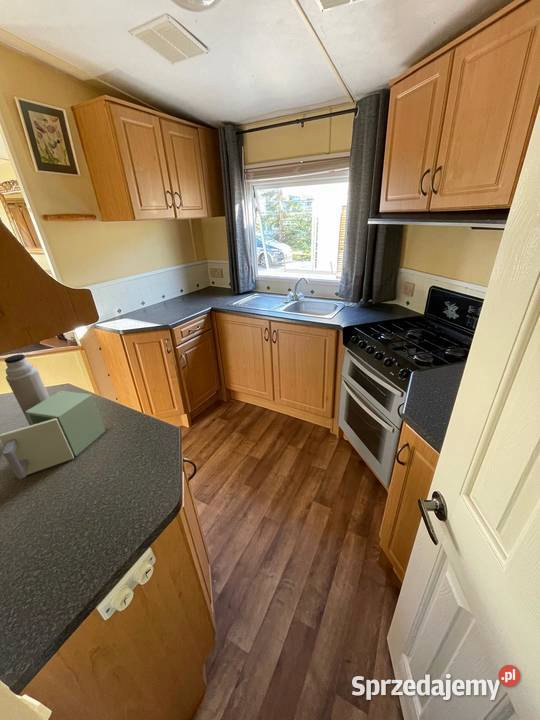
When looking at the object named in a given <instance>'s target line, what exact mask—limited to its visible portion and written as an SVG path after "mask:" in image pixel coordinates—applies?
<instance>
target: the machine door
mask: <svg viewBox="0 0 540 720" xmlns="http://www.w3.org/2000/svg"><path fill="white" fill-rule="evenodd" d="M0 442H1V444H2V445H3V447H4V449H3V450H2V451H3V452H2V454H3V456H4V457H5V459H6V461H7V463H8V464H9V466H10V468H11V469H12V471H13V473H14V475H15V476H16V478H17V479H18V480H23V479H25V478H26V476H28V475H30V474H33V473H36V472H39V471H42V470H45V469H48V468H50V467H54V466H56V465H59V464H62V463H65V462H68V461H71V460H74V459H75V456H74V455H73V453H72V451H71V449H70V447H69V445H68V442H67V440H66V438H65V436H64V433H63V431H62V429H61V427H60V425H59V422H58V420H57V418H55V419H52V420H48V421H45V422H41V423H38V424H34V425H31V426H30V425H27V426H24V427H20V428H17V429H14V430H11V431H8V432H4V433H1V434H0Z"/></svg>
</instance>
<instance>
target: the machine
mask: <svg viewBox="0 0 540 720" xmlns="http://www.w3.org/2000/svg"><path fill="white" fill-rule="evenodd" d="M25 413H26V415H27V417H28V419H29V421H30V423H31V425H34V424H38V423H41V422H45V421H48V420H52V419H55V418H57V420H58V422H59V425H60V427H61V429H62V431H63V433H64V436H65V438H66V440H67V442H68V445H69V447H70V449H71V451H72V453H73V456H74V457H77V456H78V455H79V454H80V453H82V452H83V451H84V450H85V449H87V447H89V446H90V445H91V444H92V443H93V442H95V441H96V440H97V439H98V438H99V437H101V435H103V434H104V433H105V432H106V429H105V425H104V423H103V420H102V417H101V415H100V413H99V410H98V406H97V405H96V402H95V399H94V397H93V394H92V393H91V394H90V393H83V392H76V391H75V392H74V391H68V390H67V391H66V390H59V391H58V392H56V393H54V394H52V395H50V396H49V398H47V399H46V400H44V401H42V402H41V403H39V404H37V405H36V406H34V407H32V408H31V409H29V410H27V411H25Z"/></svg>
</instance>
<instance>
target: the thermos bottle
mask: <svg viewBox="0 0 540 720" xmlns="http://www.w3.org/2000/svg"><path fill="white" fill-rule="evenodd" d="M4 363H5V365H6V367H7V368H6V369H5V374H6V376H5V380H6V381H7V384H8V386H9V387H10V389H11V391H12V393H13V395H14V397H15V399H16V401H17V403H18V405H19V407H20V409H21V411H22V413H23V415H24V417H25V419H26V421H27V423H28V424H29V425H28V426H31V423H30V421H29V419H28V417H27V415H26V413H25V411H27V410H29V409H31V408H32V407H34V406H36V405H37V404H39V403H41V402H42V401H44V400H46V399H47V398H49V397H50V395H49V392H48V391H47V388H46V386H45V384H44V382H43V380H42V377H41V375H40V373H39V370H38V369H37V368H36V367H33V366H34V364H32V363H31V362H29V361H27V359H26V356H25V355H24V354H23V353H22V354H21V353H20V354H19V353H18V354H15V355H11V356H7V357H6V358H4Z"/></svg>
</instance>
